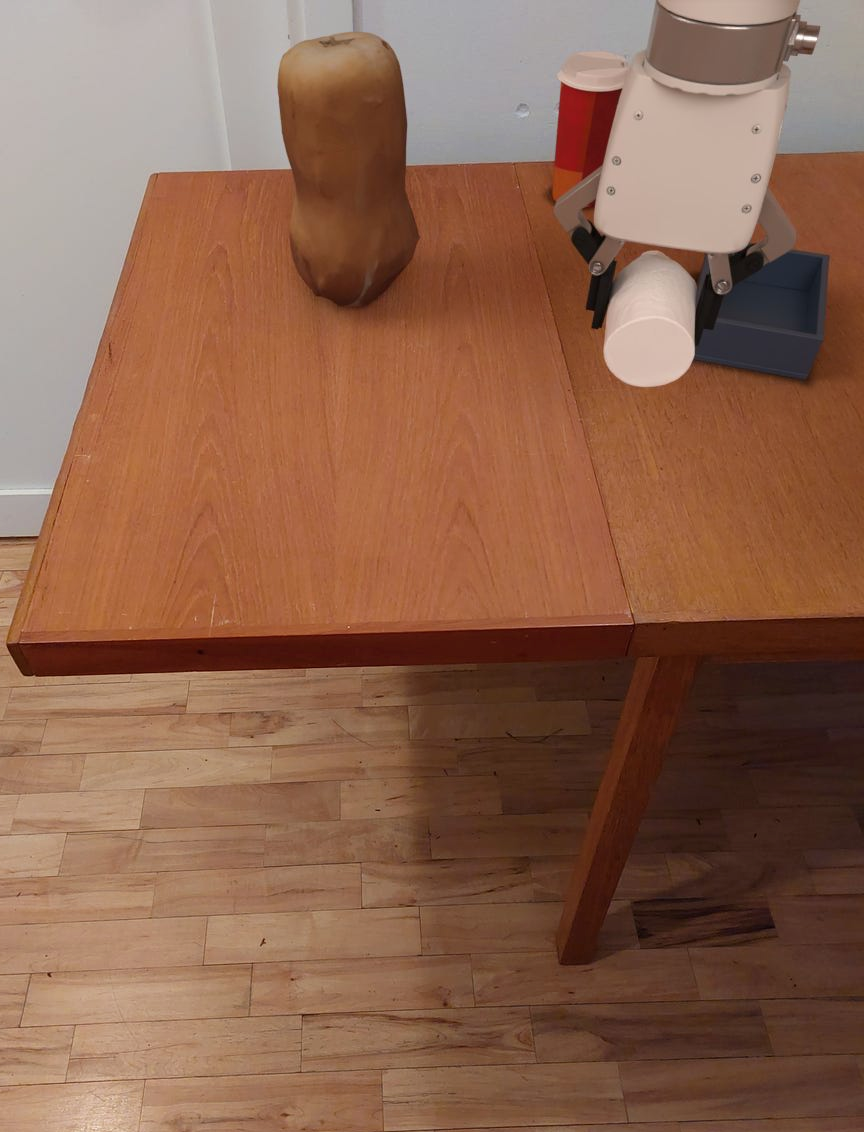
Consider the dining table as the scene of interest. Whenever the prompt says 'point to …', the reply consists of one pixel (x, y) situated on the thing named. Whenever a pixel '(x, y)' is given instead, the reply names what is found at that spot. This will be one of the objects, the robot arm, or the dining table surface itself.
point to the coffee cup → (585, 115)
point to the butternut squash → (347, 165)
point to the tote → (770, 317)
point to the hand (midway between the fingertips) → (647, 324)
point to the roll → (651, 321)
